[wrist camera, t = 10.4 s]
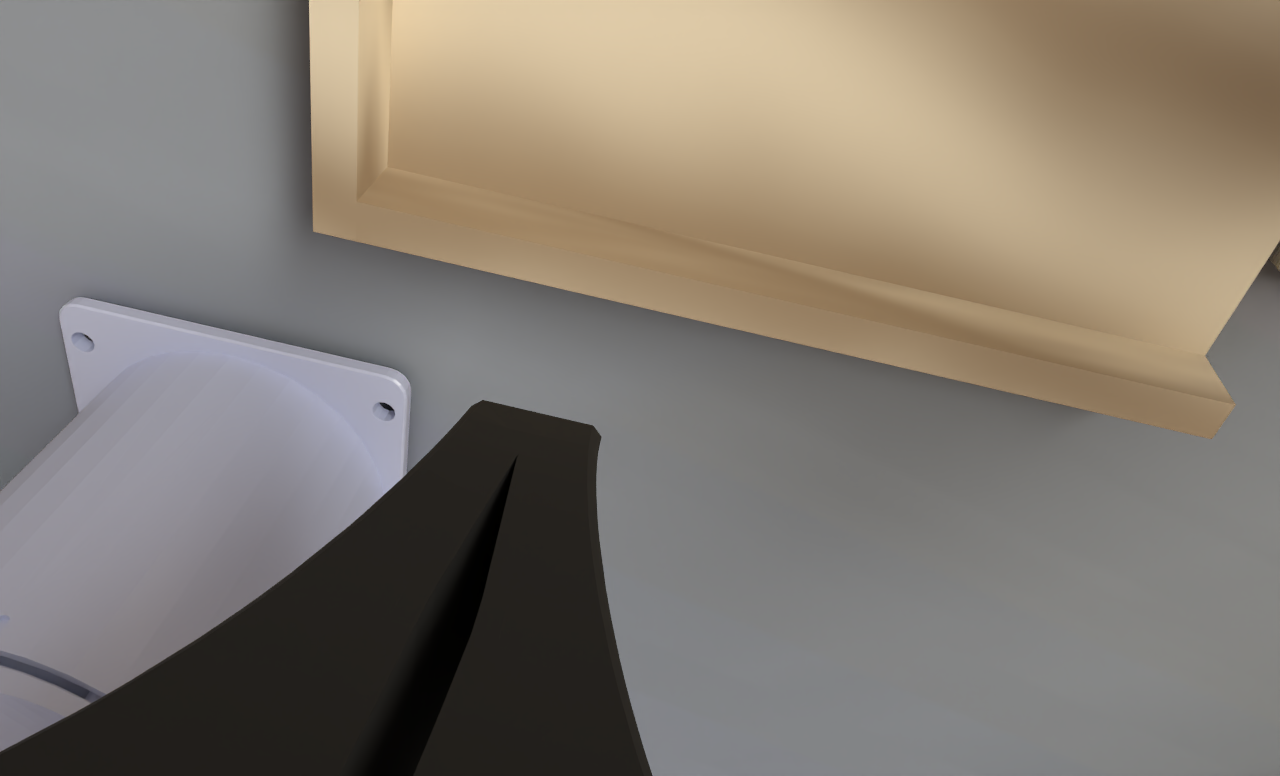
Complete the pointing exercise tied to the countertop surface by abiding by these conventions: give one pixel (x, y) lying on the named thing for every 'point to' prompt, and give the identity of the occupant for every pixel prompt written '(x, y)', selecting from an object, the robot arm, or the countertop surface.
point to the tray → (836, 171)
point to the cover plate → (1276, 256)
